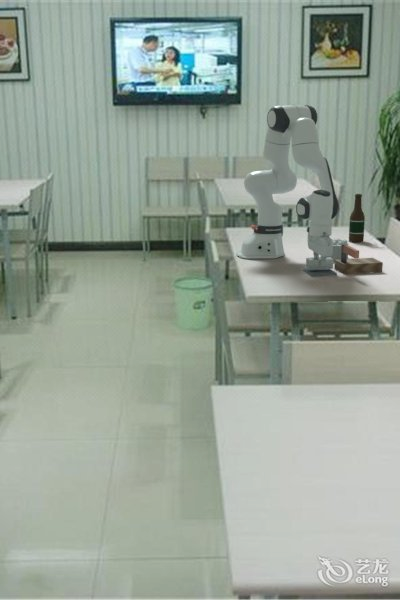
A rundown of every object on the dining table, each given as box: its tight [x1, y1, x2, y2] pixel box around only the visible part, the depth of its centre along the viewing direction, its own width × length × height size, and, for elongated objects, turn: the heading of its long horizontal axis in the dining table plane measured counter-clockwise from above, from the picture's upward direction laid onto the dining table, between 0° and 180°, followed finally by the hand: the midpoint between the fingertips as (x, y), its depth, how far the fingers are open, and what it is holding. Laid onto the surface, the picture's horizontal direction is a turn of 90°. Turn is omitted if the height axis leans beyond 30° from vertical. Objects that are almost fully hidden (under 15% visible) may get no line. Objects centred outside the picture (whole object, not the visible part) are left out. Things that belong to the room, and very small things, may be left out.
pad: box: [302, 267, 338, 277], centre depth 286 cm, size 11×11×1 cm
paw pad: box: [331, 238, 349, 263], centre depth 311 cm, size 10×13×9 cm
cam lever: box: [341, 244, 360, 262], centre depth 280 cm, size 15×2×7 cm, turn 10°
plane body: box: [333, 257, 384, 275], centre depth 288 cm, size 17×10×4 cm, turn 100°
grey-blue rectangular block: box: [305, 256, 334, 270], centre depth 285 cm, size 10×5×4 cm, turn 98°
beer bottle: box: [348, 193, 365, 244], centre depth 349 cm, size 8×8×24 cm
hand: (319, 263), depth 285 cm, fingers closed on grey-blue rectangular block, 5 cm apart
